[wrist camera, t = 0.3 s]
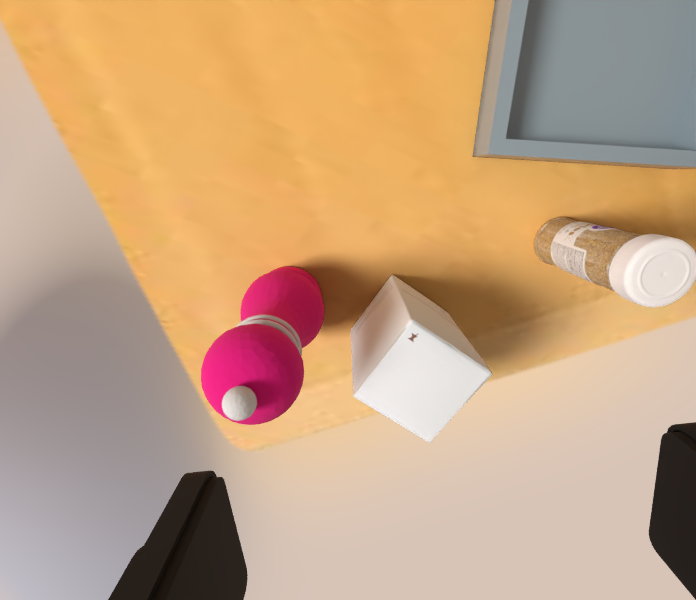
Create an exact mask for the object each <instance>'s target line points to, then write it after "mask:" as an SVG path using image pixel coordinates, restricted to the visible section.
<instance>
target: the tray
mask: <svg viewBox="0 0 696 600" xmlns="http://www.w3.org/2000/svg"><path fill="white" fill-rule="evenodd" d="M473 157H486V158H502V159H518V160H534V161H550V162H566V163H582V164H598V165H614V166H630V167H646V168H662V169H695V168H696V0H495V5H494V12H493V19H492V26H491V33H490V40H489V46H488V53H487V60H486V67H485V74H484V81H483V88H482V95H481V102H480V109H479V116H478V123H477V130H476V137H475V144H474V151H473Z"/></svg>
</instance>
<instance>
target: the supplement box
mask: <svg viewBox="0 0 696 600" xmlns="http://www.w3.org/2000/svg"><path fill="white" fill-rule="evenodd" d="M351 353H352V376H353V396H354V397H355V398H356V399H358V400H360V401H361V402H363V403H365V404H366V405H368V406H370V407H371V408H373V409H374V410H376V411H378V412H379V413H381V414H383V415H384V416H386V417H388V418H389V419H391V420H393V421H395V422H396V423H398V424H399V425H401V426H403V427H404V428H406V429H408V430H409V431H411V432H412V433H414V434H416V435H418V436H419V437H421V438H422V439H424V440H426V441H428V442H431V441H432V440H433V439H434V438H435V437H436V436H437V434H438V433H439V432H440V431H441V430H442V429H443V428H444V427H445V425H446V424H447V423H448V422H449V421H450V420H451V419H452V418H453V416H454V415H455V414H456V413H457V412H458V411H459V409H460V408H461V407H462V406H463V405H464V404H465V403H466V402H467V401H468V400H469V399H470V398H471V397H472V396H473V394H474V393H475V392H476V391H477V390H478V389H479V388H480V387H481V386H482V385H483V384H484V383H485V382H486V381H487V380H488V379H489V377H490V376H491V375H492V372H491V371H490V369H489V368H488V367H487V365H486V364H485V362H484V361H483V359H482V358H481V357H480V355H479V354H478V353H477V351H476V350H475V349H474V347H473V346H472V345H471V343H470V342H469V341H468V339H467V338H466V337H465V335H464V334H463V333H462V331H461V330H460V329H459V327H458V326H457V325H456V323H455V322H454V321H453V319H452V318H451V316H450V315H449V314H448V313H447V312H446V311H445V310H443V309H442V308H441V307H439V306H438V305H437V304H435V303H434V302H432V301H431V300H429V299H428V298H426V297H425V296H424V295H422V294H421V293H419V292H418V291H416V290H415V289H413V288H412V287H410V286H409V285H407V284H406V283H404V282H403V281H402V280H400V279H399V278H397V277H396V276H394V275H391V276H390V278H389V279H388V280H387V282H386V283H385V284H384V286H383V287H382V288H381V290H380V291H379V292H378V294H377V295H376V296H375V298H374V299H373V300H372V302H371V303H370V304H369V306H368V307H367V308H366V310H365V311H364V312H363V314H362V315H361V316H360V318H359V319H358V320H357V322H356V323H355V324H354V326H353V327H352V328H351Z"/></svg>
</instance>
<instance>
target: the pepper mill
mask: <svg viewBox="0 0 696 600" xmlns="http://www.w3.org/2000/svg"><path fill="white" fill-rule="evenodd" d="M323 320H324V303H323V299H322V295H321V290H320V287H319V285H318V283H317V281H316V280H315V279H314V277H313V276H311V275H310V274H309V273H308V272H306V271H304V270H303V269H300V268H297V267H290V266H289V267H281V268H277V269H275V270H273V271H271V272H270V273H267V274H265V275H263V276H261V277H259V278H258V279H257V280H255V281H254V282H253V283H252V284H251V286H250V287H249V288H248V290H247V292H246V294H245V296H244V298H243V300H242V305H241V322H240V323H239V324H238V325H237V326H236V327H235V328H233V329H230V330H228V331H226V332H225V333H223V334H222V335H221V336H220V337H219V338H218V339H216V340H215V342H214V343H213V344H212V346H211V347H210V348H209V350H208V351H207V354H206V356H205V358H204V361H203V365H202V369H201V382H202V388H203V391H204V393H205V396H206V398H207V400H208V401H209V403H210V404H211V406H212V407H213V408H214V409H215V410H216V411H217V412H218V413H219V414H221V415H222V416H223V417H225V418H227V419H229V420H231V421H233V422H236V423H240V424H248V425H253V424H261V423H265V422H268V421H271V420H273V419H275V418H277V417H279V416H280V415H282V414H283V413H284V412H286V411H287V410H288V409H289V408H290V407H291V405H292V404H293V403H294V401H295V400H296V398H297V396H298V395H299V393H300V390H301V387H302V384H303V378H304V367H303V360H302V357H301V355H302V348H303V347H305V346H306V345H308V344H309V343H310V342H311V341H312V340H313V339H314V338H315V337H316V336H317V334H318V332H319V330H320V328H321V326H322V323H323Z"/></svg>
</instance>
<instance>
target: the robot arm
mask: <svg viewBox="0 0 696 600" xmlns="http://www.w3.org/2000/svg"><path fill="white" fill-rule="evenodd" d="M649 537H650V541H651V543H652V545H653V547H654V549H655V550H656V552H657V553H658V555H659V556H660V557H661V558H662V559H663V561H664V562H665V563H666V564H667V565H668V567H669V568H670V569H671V570H672V571H673V573H674V574H675V575H676V576H677V577H678V579H679V580H680V581H681V582H682V584H683V585H684V586H685V587H686V588H687V590H688V591H689V592H690V593H691V594H692V596H693V597H694V598H695V599H696V423H685V424H676V425H672V426H671V427H669V428H668V431H667V433H665V434H664V435H663V436H662V439H661V445H660V453H659V461H658V467H657V475H656V482H655V490H654V497H653V504H652V512H651V519H650V527H649ZM246 586H247V568H246V564H245V560H244V556H243V552H242V548H241V544H240V540H239V536H238V533H237V529H236V524H235V521H234V517H233V513H232V509H231V505H230V501H229V497H228V493H227V489H226V485H225V482H224V479H223V478H222V477H216V474H215V473H214V471H203V472H193V473H186V474H185V475H184V476H183V477H182V478H181V480H180V482H179V484H178V486H177V487H176V489H175V491H174V493H173V495H172V497H171V499H170V500H169V502H168V504H167V505H166V507H165V509H164V511H163V513H162V514H161V516H160V518H159V520H158V522H157V523H156V525H155V527H154V529H153V530H152V532H151V534H150V536H149V538H148V539H147V541H146V543H145V545H144V546H143V547H141V548H140V549H139V550H138V551H137V552H136V553H135V555H134V556H133V558H132V559H131V561H130V563H129V564H128V566H127V568H126V570H125V571H124V573H123V575H122V577H121V579H120V580H119V582H118V584H117V585H116V587H115V589H114V591H113V592H112V594H111V596H110V598H109V599H108V600H243V599H244V595H245V591H246Z"/></svg>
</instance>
